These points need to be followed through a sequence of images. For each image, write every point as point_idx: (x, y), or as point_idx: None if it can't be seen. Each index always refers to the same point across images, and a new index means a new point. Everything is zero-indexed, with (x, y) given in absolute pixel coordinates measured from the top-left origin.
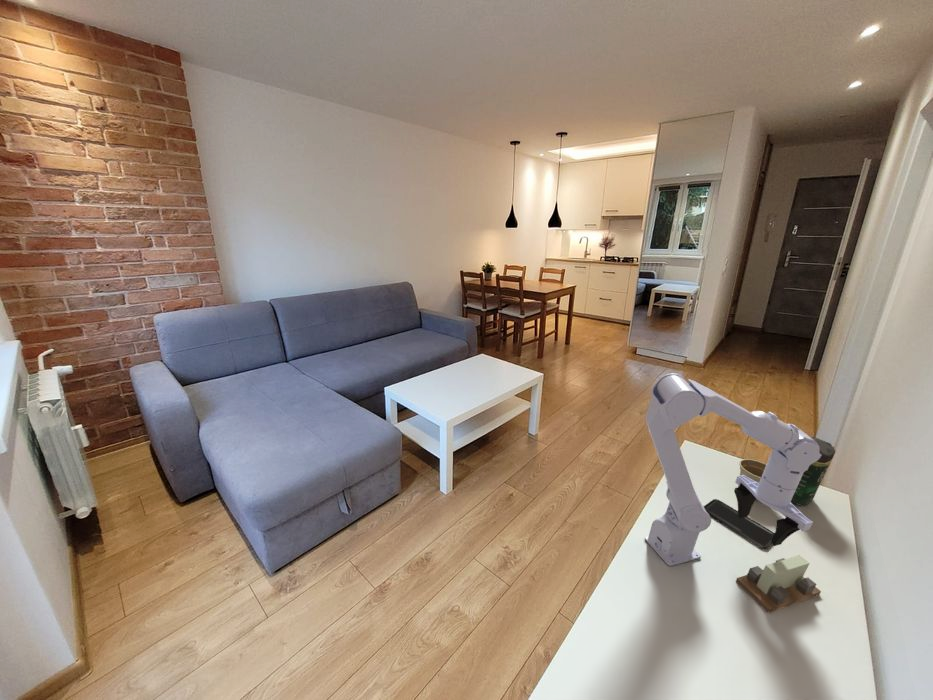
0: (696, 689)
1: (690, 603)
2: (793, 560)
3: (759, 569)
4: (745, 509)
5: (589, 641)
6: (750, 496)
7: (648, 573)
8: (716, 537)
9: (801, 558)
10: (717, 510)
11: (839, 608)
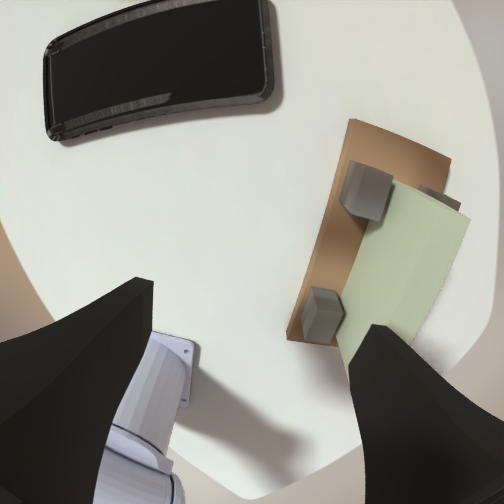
0: (323, 465)
1: (261, 426)
2: (425, 273)
3: (326, 318)
4: (121, 366)
5: (234, 486)
6: (67, 484)
7: (188, 429)
8: (151, 218)
9: (447, 222)
10: (73, 89)
11: (475, 162)
